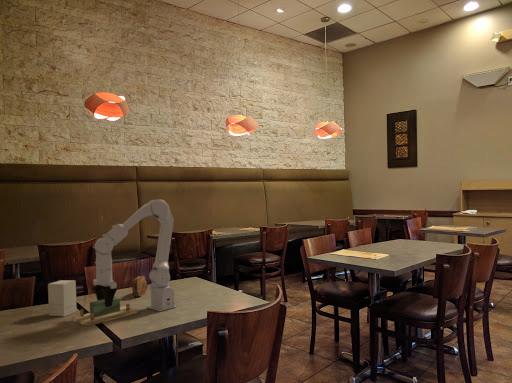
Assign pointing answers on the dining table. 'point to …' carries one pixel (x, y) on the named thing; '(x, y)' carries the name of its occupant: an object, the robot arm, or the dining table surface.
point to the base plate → (91, 320)
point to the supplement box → (62, 297)
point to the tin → (139, 286)
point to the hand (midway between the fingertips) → (105, 305)
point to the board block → (104, 307)
